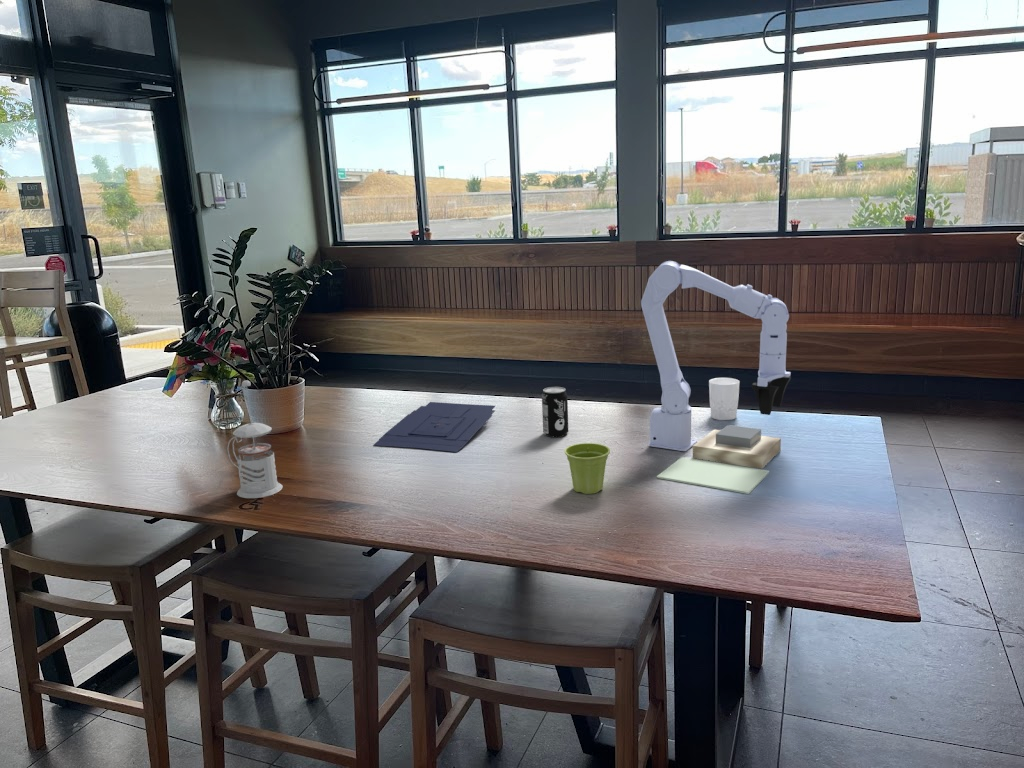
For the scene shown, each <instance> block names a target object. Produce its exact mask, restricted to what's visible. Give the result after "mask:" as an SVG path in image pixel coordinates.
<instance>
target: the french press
mask: <svg viewBox="0 0 1024 768" xmlns="http://www.w3.org/2000/svg"><path fill="white" fill-rule="evenodd" d="M241 387H243V388H244V387H245V388H246V389H245V390H246V395H247V404H248V413H249V420H250V422H249V423H246V424H243V425H241V426H239V427H237V428H236V429H234V430H233V432H232V435H233V437H232V438H230V439H229V441H228V442H227V443H228V444H227V448H226V449H227V455H228V459H229V460H230V463H231V464H232V465H233V466H234V467H236V468H237V469H238V476H239V484H240V487H239V489H238V490H237V492H236V495H237V496H238V497H239V498H244V499H258V498H265V497H270V496H273V495H274V494H275V495H276V494H277V493H278V492H280V491H281V490H282V489H283V484H281V483H280V482H278V476H277V469H276V468H277V467H276V463H275V462H276V459H275V451H273V450H271V449H272V445H271V444H269V443H263V442H262V443H261V442H260V443H255V438H257V437H263V436H266V435H267V434H270V433H271V431H272V427H271V426H269V425H267V424H264V423H260V422H252V421H253V420H252V414H251V413H252V412H251V407H250V398H249V391H248V387H251V381H250V380H248V379H247V380H243V381H242V382H241ZM238 438H240V440H239V441H238ZM243 438H245V439H248V438H252V441H253V442H252V444H246V445H243V446H240V447H239V448H238V449H237V453H238V454H239V455H236V453H235V445H234V444H235V441H236V443H241V442H242V441H243ZM232 441H233V442H232ZM231 442H232V453H233V456H234V457H235V460H236V461H237V465H236V464H235V462H233V460H232V459H231V455H230V451H229V448H230V443H231ZM263 454H264V455H267V456H264V455H263ZM241 455H242V458H241ZM259 455H263V456H259ZM256 456H259V457H257V458H255V457H256ZM242 459H243V460H242ZM243 472H244V473H243ZM244 478H245V479H244Z"/></svg>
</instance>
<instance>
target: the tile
mask: <svg viewBox="0 0 1024 768" xmlns="http://www.w3.org/2000/svg"><path fill="white" fill-rule="evenodd" d="M720 430H721V431H719V432H718V433H717V434H716V443H718V444H725V445H732V446H739V447H746V448H751V447H752V446H753V445H754V444H755V443H756V442H757V441H759V440H760V439H761V436H762V429H761V428H753V427H746V426H740V425H739V426H738V425H730V424H727V425H726V426H724V427H723V428H722V429H720Z"/></svg>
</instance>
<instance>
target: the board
mask: <svg viewBox="0 0 1024 768" xmlns="http://www.w3.org/2000/svg"><path fill="white" fill-rule="evenodd" d="M721 430H722V429H714V428H713V430H711V431H710V432H709V433H707V434H706V435H705V436H703V437H702V438H701V439H699V440H697V443H696V444H694V445H693V446H692V459H697V460H702V459H703V460H704V461H708V460H710V462H715V461H716V462H717V463H721V462H722V463H723V464H729V465H736V466H742V467H749V468H755V469H762V470H764V468H765V467H766V466H767V465H768V464H767V463H768V462H769V461H770V460H771V459H772V458H773V457H774V456H776V455H778V454H779V452H780V451H781V447H782V446H781V445H782V438H781V437H773V436H768V435H761V439H760V440H759V441H757V442H756V443H755V444H754V445H753V446H752V447H751V448H746V447H739V446H732V445H725V444H718V443H716V434H717V433H718V432H719V431H721ZM774 458H775V457H774ZM774 458H773V459H774ZM770 462H771V461H770ZM770 462H769V463H770ZM765 465H766V466H765Z"/></svg>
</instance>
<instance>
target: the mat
mask: <svg viewBox="0 0 1024 768" xmlns="http://www.w3.org/2000/svg"><path fill="white" fill-rule="evenodd" d="M769 474H770V470H767V469H760V468H753V467H747V466H740V465H734V464H727V463H721V462H715V461H708V460H702V459H695V458H692V457H691V458H689V457H683V456H681V457H679V458H678V459H677V460H676V461H675V462H673V463H672V464H671V465H669V466H668V467H667V468H665V469H664V470H663V471H662V472H661V473H659V474H658V475H657V476H656V478H657V479H661V480H666V481H672V482H679V483H684V484H690V485H694V486H695V485H696V486H700V487H707V488H712V489H718V490H723V491H729V492H734V493H741V494H747V495H749V494H751V492H752V491H754V489H755V488H757V486H759V484H760V483H761V482H762V481H763V480H764V479H765V478H766V477H767V476H768V475H769Z"/></svg>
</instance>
